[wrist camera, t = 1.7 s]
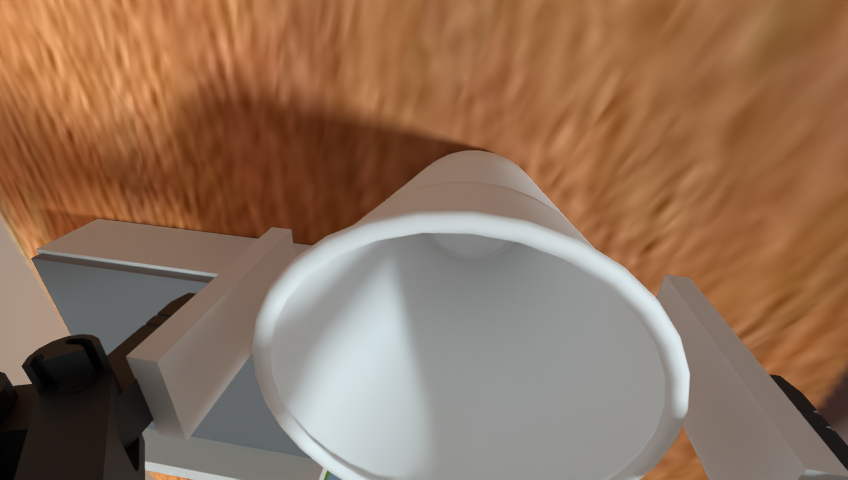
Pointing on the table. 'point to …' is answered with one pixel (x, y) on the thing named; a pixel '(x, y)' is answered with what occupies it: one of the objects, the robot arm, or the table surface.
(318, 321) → the cup
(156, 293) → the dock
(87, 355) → the robot arm
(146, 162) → the table surface
